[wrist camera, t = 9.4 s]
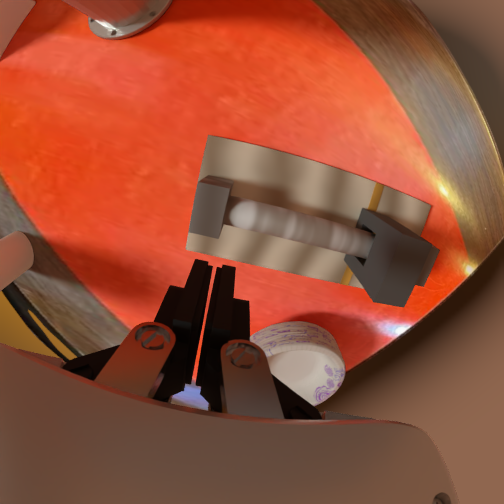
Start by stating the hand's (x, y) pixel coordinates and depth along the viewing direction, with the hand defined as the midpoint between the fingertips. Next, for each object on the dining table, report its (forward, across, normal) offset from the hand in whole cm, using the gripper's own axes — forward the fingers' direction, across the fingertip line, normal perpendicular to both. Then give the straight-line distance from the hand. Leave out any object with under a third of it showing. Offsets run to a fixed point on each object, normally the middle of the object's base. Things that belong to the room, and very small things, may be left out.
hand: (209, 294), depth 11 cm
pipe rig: (+22, -11, +1) cm, 24 cm away
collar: (+20, -17, +1) cm, 26 cm away
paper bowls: (+21, -12, +21) cm, 33 cm away
